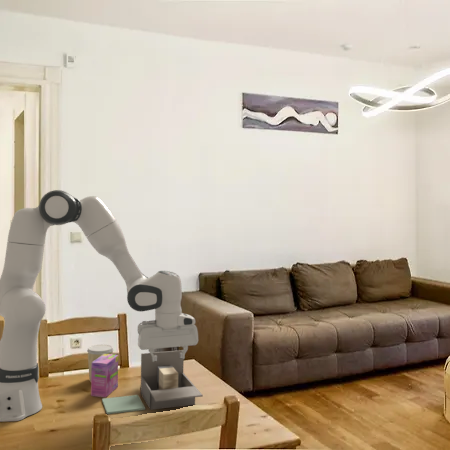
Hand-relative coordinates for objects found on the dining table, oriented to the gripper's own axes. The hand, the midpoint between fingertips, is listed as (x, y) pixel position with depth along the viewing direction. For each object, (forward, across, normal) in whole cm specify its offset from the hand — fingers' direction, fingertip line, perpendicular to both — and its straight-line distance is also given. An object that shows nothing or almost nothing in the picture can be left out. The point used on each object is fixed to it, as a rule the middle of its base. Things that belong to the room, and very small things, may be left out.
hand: (168, 359), depth 183 cm
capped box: (+13, 0, 0) cm, 13 cm away
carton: (+13, 0, -4) cm, 14 cm away
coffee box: (+14, +3, +17) cm, 22 cm away
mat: (+13, -15, -1) cm, 20 cm away
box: (+13, -19, +13) cm, 27 cm away
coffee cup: (+13, -19, +26) cm, 35 cm away
